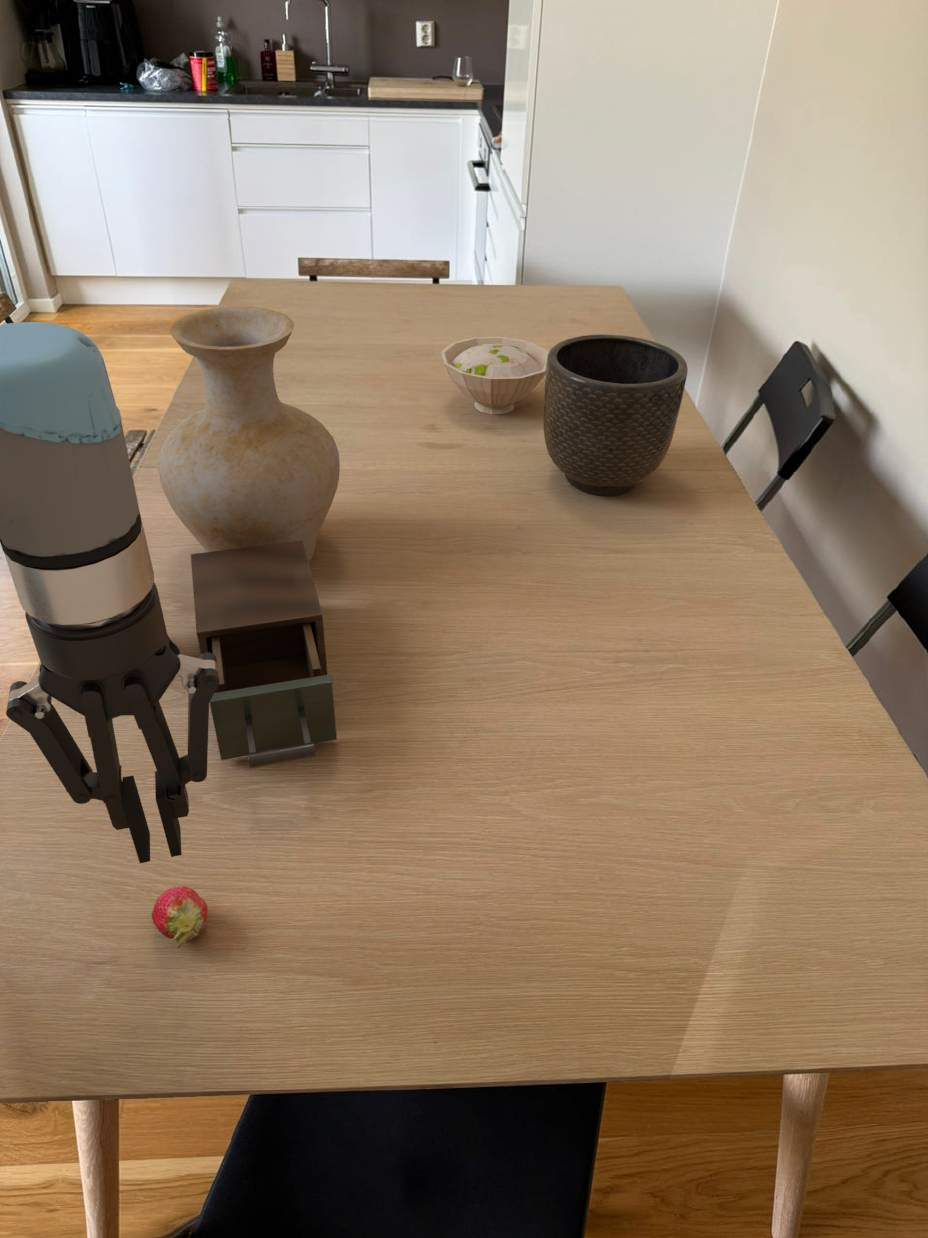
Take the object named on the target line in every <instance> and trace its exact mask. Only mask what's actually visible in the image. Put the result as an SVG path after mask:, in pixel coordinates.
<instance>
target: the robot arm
mask: <svg viewBox="0 0 928 1238" xmlns="http://www.w3.org/2000/svg"><path fill="white" fill-rule="evenodd" d="M125 437H126V436H125V432H124V427H123V421H122V416H121V411H120V409H119V407H118V406H117V402H116V400H115V395H114V392H113V389H112V385H111V382H110V378H109V375H108V370H107V366H106V363H105V360H104V357H103V355H102V353H101V350H100V349H99V347H98V346H97V344H96V343H95V342H94V341H93V340H92V339H91V338H90V337H88V335H86V334H84V333H83V332H81V331H79V330H77V329H75V328H72V327H70V326H67V325H63V324H58V323H53V322H42V321H41V322H40V321H36V322H35V321H21V322H20V321H19V322H11V323H10V322H9V323H3V324H1V325H0V546H1V549H2V552H3V554H4V557H5V560H6V563H7V567H8V570H9V573H10V577H11V579H12V583H13V586H14V588H15V592H16V594H17V598H18V601H19V603H20V605H21V608H22V610H23V611H24V613H25V615H24V616H25V620H26V621H25V622H26V623H27V626H28V629H29V632H30V635H31V638H32V641H33V643H34V647H35V649H36V653H37V655H38V658H39V662H40V665H39V674H38V676H37V677H35V678H34V679H32V680H31V681H29V682H26V681H22V680H19V681H15V682H13V683H12V684H11V685H10V687H9V692H8V698H7V706H6V711H5V715H6V717H7V718H8V719H9V720H11V722H13V723H14V724H16V725H18V726H19V727H20V728H22V729H24V730H25V731H26V732H28V733H29V734H30V736H31V738H32V739H33V741H34V742H35V744H36V746H37V747H38V749H39V751H40V752H41V753H42V755H43V756H44V758H45V759H46V761H47V762H48V764H49V766H50V767H51V768H52V770H53V772H54V773H55V775H56V777H57V778H58V779H59V782H61V784H62V785H63V787H64V789H65V790H66V792H67V793H68V795H69V796H70V798H71V799H72V801H73V802H74V803H75V804H77V805H79V804H80V805H83V804H85V805H86V804H87V803H90V801H91V800H98V801H102V802H103V803H104V805H105V808H106V810H107V813H108V817H109V820H110V823H111V825H112V827H113V828H114V829H115V830H116V831H121V830H125V829H128V830H129V833H130V836H131V839H132V843H133V845H134V849H135V852H136V857H137V859H138V862H139V864H144V863H149V862H151V832H150V829H149V825H148V822H147V817H146V814H145V811H144V807H143V804H142V801H141V797H140V793H139V789H138V786H137V783H136V780H135V775H128V776H127V775H126V776H122V765H121V763H120V758H119V757H120V756H119V751H118V745H117V740H116V739H117V738H116V734H115V728H114V723H113V719H115V718H118V717H122V716H133V718H134V720H135V723H136V725H137V727H138V730H141V733H142V735H143V738H144V741H145V743H146V746H147V748H148V751H149V754H150V756H151V759H152V761H153V764H154V766H155V769H156V771H154V785H155V788H154V789H155V790H154V791H155V802H156V806H157V809H158V812H159V817H160V821H161V824H162V828H163V832H164V835H165V839H166V843H167V847H168V850H169V854H170V857H171V858H173V857H179V856H182V833H181V832H182V831H181V825H180V819H181V818H186V817H188V816H189V813H190V804H189V794H188V790H187V786H186V785H187V784H188V783H190V782H193V783H202V782H203V781H205V780H206V779H207V776H208V756H209V755H208V754H209V753H208V751H209V750H208V749H209V721H210V720H209V718H210V700H211V698H212V696H213V695H214V693H215V691H216V689H217V687H218V685H219V674H218V664H217V657H216V656H215V654H213V653H209V652H207V653H203V654H202V655H201V654H200V655H199V656H198V657H195V656H191V655H186V654H182V653H181V651H180V649H179V647H178V645H177V644H176V643H175V642H174V641H173V640H172V639H170V636H169V635H168V634H169V633H168V631H167V627H166V622H165V617H164V613H163V609H162V604H161V599H160V594H159V589H158V587H157V585H156V583H155V574H154V573H155V572H154V568H153V564H152V563H153V562H152V559H151V555H150V554H151V553H150V550H149V546H148V541H147V537H146V532H145V528H144V524H143V522H142V516H141V512H140V507H139V501H138V496H137V492H136V486H135V482H134V476H133V471H132V466H131V461H130V456H129V453H128V452H129V451H128V447H127V442H126V438H125ZM177 675H179V677H180V678H181V686H182V688H184V689H185V690H187V693H188V694H187V695H188V697H187V698H188V701H187V754H186V755H183V756H181V757H180V755H179V753H178V750H177V746H176V744H175V741H174V738H173V736H172V733H171V731H170V727H169V725H168V722H167V719H166V717H165V713H164V711H163V709H162V705H161V703H160V700H161V699H162V697H163V695H164V694H165V693H166V691H167V690H168V688H169V687H170V685H171V684H172V682H173V681H174V680H175V678H176V677H177ZM53 699H55V700H56V701H58V702H60V703H61V704H63V705H64V706H66V707H68V708H70V709H71V710H73V711H75V712H76V713H78V714H80V715H81V716H83V717H84V720H85V725H86V731H87V734H88V738H89V739H90V744H91V750H92V755H93V760H94V764H95V770H96V771H93V769H92V766H90V764H89V761H88V760H87V759H86V757H85V756H84V754H83V752H82V751H81V749H80V747H79V745H78V743H77V742H76V741H75V739H74V737H73V736H72V734H71V731H69V728H68V727H67V725H66V724H65V723H64V721H63V719H62V718H61V717H62V716H60V714H59V712H58V711H57V709H56V707H55V706H54V704H53V702H52V700H53ZM179 818H180V819H179Z"/></svg>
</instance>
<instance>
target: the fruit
mask: <svg viewBox="0 0 928 1238" xmlns="http://www.w3.org/2000/svg"><path fill="white" fill-rule="evenodd" d="M208 909H209V908H208V904H207V903H206V900H205V899H204V898H203V897H201V896H200V895H199V894H198V892H197V890H195V889H193V888H191V887H188V886H185V885H179V886H173V887H169V888H167V889H166V890H165V891H164V892H163V893H161V894H160V895H159V896H158V898H157V899H156V901H155V903H154V906H153V908H152V912H151V913H150V914H151V920H152V922H153V924H154V926H155V928H156V929H157V931H158V932H159V933H160V934H161V935H163V936H164V937H166V938H168V939H170V941H169V942H168V945H171V944H172V943H174V942H175V941H177V942H176V950H179V949H180V948H181V947H182V946H183V945H184V944H185V943H186V942H187V941H190V940H192V939H194V937H197V936H199V935H200V933H201V932H202V930H203V929H205V927H206V924H207V922H208V921H207V919H208Z"/></svg>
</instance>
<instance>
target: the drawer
mask: <svg viewBox="0 0 928 1238" xmlns="http://www.w3.org/2000/svg"><path fill="white" fill-rule="evenodd" d="M211 639H212V650H213V654H215V656H216V657H217V664H218V674H219V685H218V687H217V693H214V695H213V696H212V698H211V700H210V702H209V708H210V711H211V716H212V717H211V718H212V721H213V726H214V731H215V736H216V737H215V738H216V741H217V746H218V751H219V756H220V760H221V761H225V760H229V759H235V758H241V757H247V762H248V768H249V769H250V770H252V769H257V768H262V767H268V766H274V765H278V764H284V763H290V762H296V761H302V760H306V759H312V758H315V757H316V756H317V754H316V747H315V745H316V744H319V743H325V742H331V741H336V740H338V736H337V735H338V734H337V724H336V712H335V701H334V689H333V681H332V676H331V674H328V675H323V676H322V674H321V666H320V662H319V658H318V654H317V650H316V646H315V641H314V637H313V633H312V629H311V625H310V622H307V623H301V624H294V625H287V626H280V627H273V628H267V629H260V630H253V631H246V632H239V633H233V634H226V635H219V636H212V637H211Z"/></svg>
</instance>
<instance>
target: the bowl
mask: <svg viewBox="0 0 928 1238" xmlns="http://www.w3.org/2000/svg"><path fill="white" fill-rule="evenodd" d="M549 352H550V351H549V350H548V349H546V348H544V347H542V346H540V345H538V344H536V343H533V342H531V341H528V340H523V339H518V338H513V337H506V336H475V337H471V338H466V339H463V340H457V341H454V342H451V343H450V344H449V345H448V346H447V347H446V348H444V349H443V350H442V351H440V355H441V358H442V362H443V365H444V367H445V369H446V371H447V374H448V375H449V378H450V380H451V381H452V382H453V383H454V385H455V386H456V387H457V388H458V389H459V390H460V391H461V393H463V395H465V396H466V397H468V398H469V399H471V400H473V401H474V408H475V409H476V410H477V411H479V412H480V413H483V414H488V415H505V414H508V413H511V412H512V411H513V410H514V409H515V405H514V404H515V403H518V402H520V401H522V400H523V399H524V398H525V397H526V396H527V395H528V394H530V392H532V391H533V390H534V389H535V388H536V387H537V385H539V384H540V383H541V382H542V380H543V379H544V378H545V377H546V364H547V357H548V353H549Z"/></svg>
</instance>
